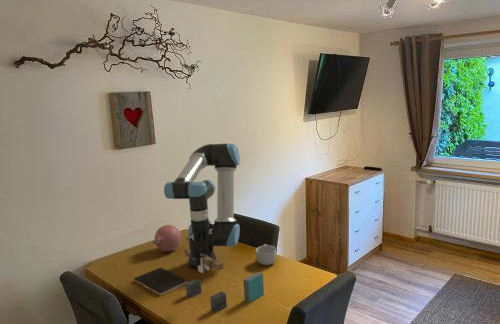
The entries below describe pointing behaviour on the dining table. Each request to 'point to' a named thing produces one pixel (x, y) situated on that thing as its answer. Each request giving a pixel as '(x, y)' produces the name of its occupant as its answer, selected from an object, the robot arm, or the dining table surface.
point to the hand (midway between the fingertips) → (203, 270)
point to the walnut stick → (207, 260)
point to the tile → (253, 287)
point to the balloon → (167, 238)
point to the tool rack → (216, 300)
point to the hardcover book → (161, 280)
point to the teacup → (266, 254)
